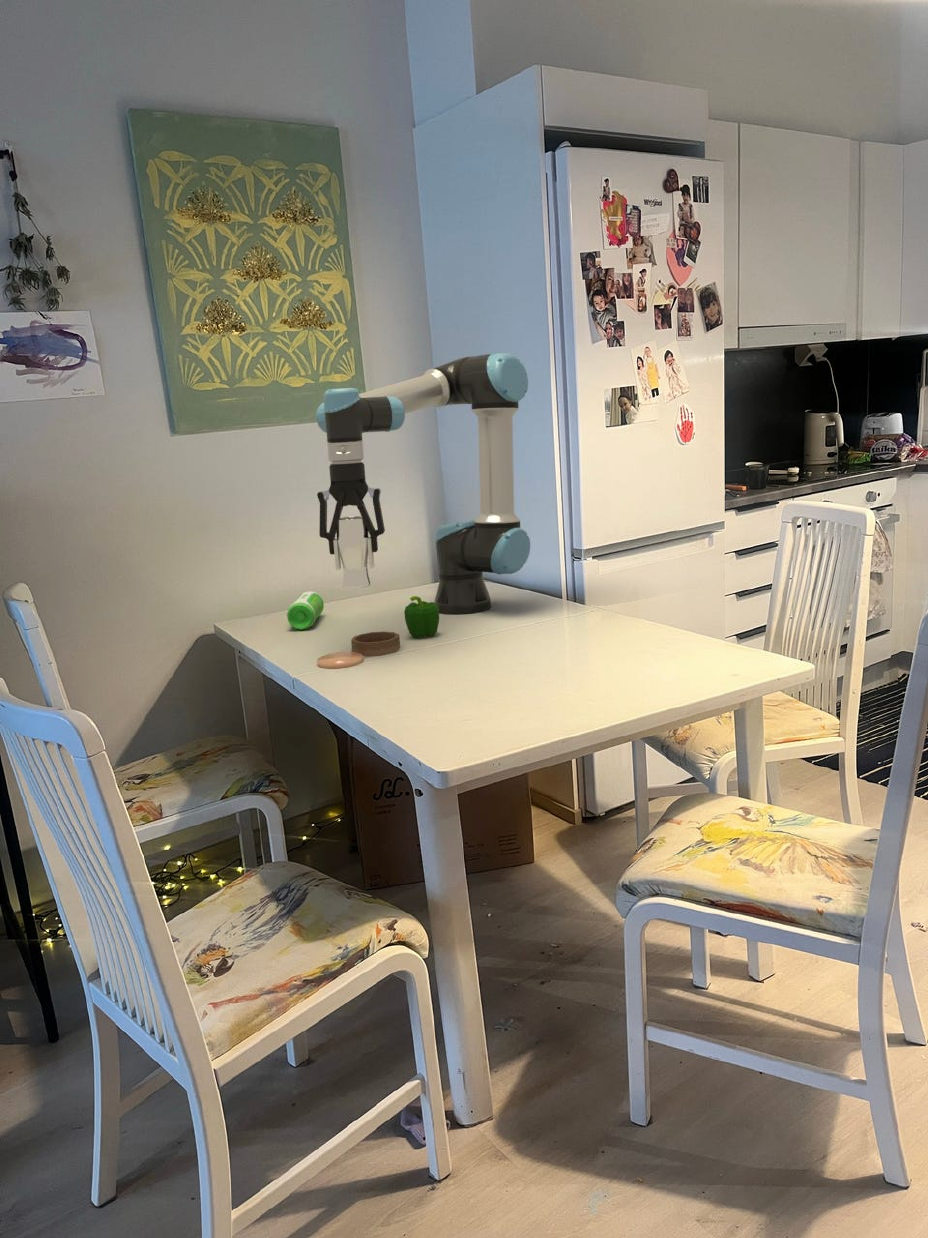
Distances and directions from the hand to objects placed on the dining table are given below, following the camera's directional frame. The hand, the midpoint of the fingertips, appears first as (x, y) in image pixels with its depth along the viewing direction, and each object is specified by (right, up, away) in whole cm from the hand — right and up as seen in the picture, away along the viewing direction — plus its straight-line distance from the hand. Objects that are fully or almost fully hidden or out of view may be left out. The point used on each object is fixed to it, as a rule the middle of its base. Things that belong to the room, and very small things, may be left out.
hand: (355, 567), depth 210 cm
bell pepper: (+14, -16, +18) cm, 28 cm away
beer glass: (0, -4, +1) cm, 4 cm away
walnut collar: (+4, -18, +7) cm, 20 cm away
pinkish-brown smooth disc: (-3, -21, -1) cm, 21 cm away
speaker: (-17, -13, +41) cm, 46 cm away
